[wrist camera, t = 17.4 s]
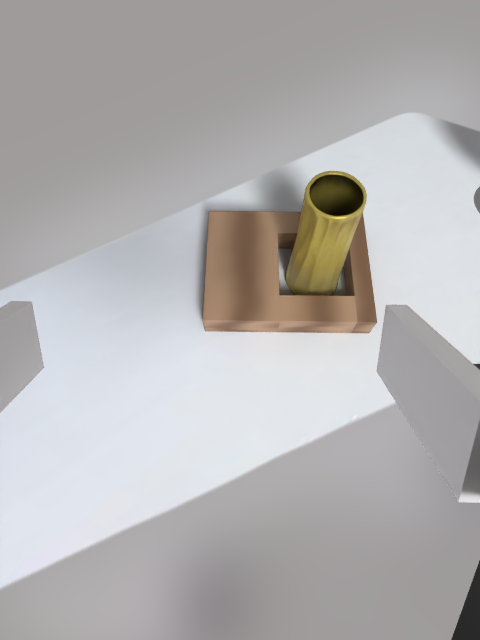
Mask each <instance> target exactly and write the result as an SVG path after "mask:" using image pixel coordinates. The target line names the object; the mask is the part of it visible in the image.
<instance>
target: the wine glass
mask: <svg viewBox="0 0 480 640" xmlns="http://www.w3.org/2000/svg"><path fill="white" fill-rule="evenodd" d="M474 201H475V205H476V208H477V209H478V211H479V212H480V187H479V189H478V190H477V191H476V193H475V196H474Z"/></svg>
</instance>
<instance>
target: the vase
mask: <svg viewBox="0 0 480 640" xmlns="http://www.w3.org/2000/svg"><path fill="white" fill-rule="evenodd" d="M366 197H367V195H366V191H365V188H364V187H363V185H362V184H361V183H360V182H359V181H358V180H357V179H356V178H355V177H353V176H351V175H350V174H348V173H345V172H340V171H326V172H323V173H320V174H318V175H316V176H315V177H314V178H313V179H312V180H311V181H310V182H309V183H308V185H307V187H306V190H305V195H304V201H303V206H302V212H301V216H300V222H299V227H298V233H297V237H296V241H295V244H294V248H293V251H292V254H291V257H290V261H289V265H288V267H287V270H286V282H287V284H288V286H289V288H290V289H291V290H292V292H293V293H294V294H296V295H303V296H330V295H331V294H332V293H333V292H334V291H335V289H336V288H337V285H338V281H339V275H340V273H341V271H342V268H343V265H344V262H345V259H346V256H347V253H348V250H349V248H350V244H351V242H352V239H353V236H354V233H355V230H356V228H357V225H358V223H359V220H360V218H361V215H362V213H363V210H364V207H365V204H366Z"/></svg>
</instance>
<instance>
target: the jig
mask: <svg viewBox="0 0 480 640" xmlns="http://www.w3.org/2000/svg"><path fill="white" fill-rule="evenodd" d="M300 216H301V212H239V211H209V221H208V239H207V256H206V274H205V291H204V308H203V323H204V328H205V331H236V332H317V333H369V332H370V331H371V330H372V328H373V327H374V326H375V324H376V323H377V318H376V310H375V303H374V295H373V287H372V280H371V272H370V264H369V257H368V249H367V241H366V234H365V226H364V218H363V213H362V215H361V218H360V220H359V223H358V225H357V228H356V230H355V233H354V236H353V239H352V242H351V244H350V248H349V250H348V253H347V256H346V259H345V262H344V272H345V282H346V292H347V296H303V295H279V261H278V248H294V244H295V241H296V237H297V233H298V227H299V222H300Z"/></svg>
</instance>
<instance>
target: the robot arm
mask: <svg viewBox="0 0 480 640" xmlns="http://www.w3.org/2000/svg"><path fill="white" fill-rule="evenodd" d="M43 368H44V365H43V360H42V354H41V349H40V344H39V338H38V333H37V328H36V322H35V317H34V312H33V306H32V302H22V301H11V302H9V303H8V304H6V305H4V306H3V307H1V308H0V412H1V411H2V410H3V409H4V408H5V407H6V406H7V405H8V404H9V403H10V402H11V401H12V400H13V399H14V398H15V397H16V396H17V395H18V394H19V393H20V392H21V391H22V390H23V389H24V388H25V387H26V386H27V385H28V384H29V383H30V382H31V381H32V380H33V378H34V377H35V376H36V375H37V374H38V373H39V372H40V371H41V370H42V369H43ZM377 373H378V374H379V376H380V377H381V379H382V381H383V382H384V384H385V385H386V387H387V389H388V390H389V392H390V393H391V395H392V397H393V398H394V400H395V401H396V403H397V405H398V406H399V408H400V409H401V411H402V412H403V414H404V416H405V417H406V419H407V421H408V422H409V424H410V425H411V427H412V429H413V430H414V432H415V433H416V435H417V437H418V438H419V440H420V441H421V443H422V445H423V446H424V448H425V449H426V451H427V453H428V454H429V456H430V457H431V459H432V461H433V462H434V464H435V465H436V467H437V469H438V470H439V472H440V473H441V475H442V477H443V478H444V480H445V481H446V483H447V485H448V486H449V488H450V489H451V491H452V493H453V494H454V496H455V497H456V499H457V501H458V502H480V364H472V363H471V362H470V361H469V360H468V359H467V358H466V357H465V356H463V355H462V354H461V353H460V352H459V351H458V350H457V349H456V348H454V347H453V346H452V345H451V344H450V343H449V342H448V341H447V340H445V339H444V338H443V337H442V336H441V335H440V334H439V333H438V332H437V331H435V330H434V329H433V328H432V327H431V326H430V325H429V324H428V323H426V322H425V321H424V320H423V319H422V318H421V317H420V316H419V315H417V314H416V313H415V312H414V311H413V310H412V309H411V308H410V307H408V306H407V305H386V309H385V316H384V323H383V330H382V337H381V344H380V351H379V358H378V365H377ZM452 640H480V561H479V564H478V567H477V570H476V572H475V576H474V578H473V581H472V584H471V587H470V590H469V592H468V595H467V598H466V600H465V603H464V606H463V609H462V612H461V614H460V617H459V620H458V623H457V626H456V629H455V631H454V634H453V637H452Z"/></svg>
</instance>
